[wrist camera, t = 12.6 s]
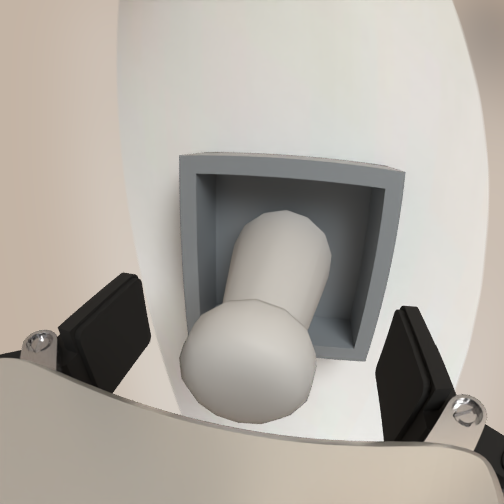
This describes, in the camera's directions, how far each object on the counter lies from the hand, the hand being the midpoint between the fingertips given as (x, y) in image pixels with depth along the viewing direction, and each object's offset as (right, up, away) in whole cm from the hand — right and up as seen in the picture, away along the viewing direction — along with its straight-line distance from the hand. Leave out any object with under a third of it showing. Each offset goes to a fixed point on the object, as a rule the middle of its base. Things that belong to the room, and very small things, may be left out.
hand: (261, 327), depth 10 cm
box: (+2, +3, +10) cm, 11 cm away
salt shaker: (+2, +3, +10) cm, 10 cm away
